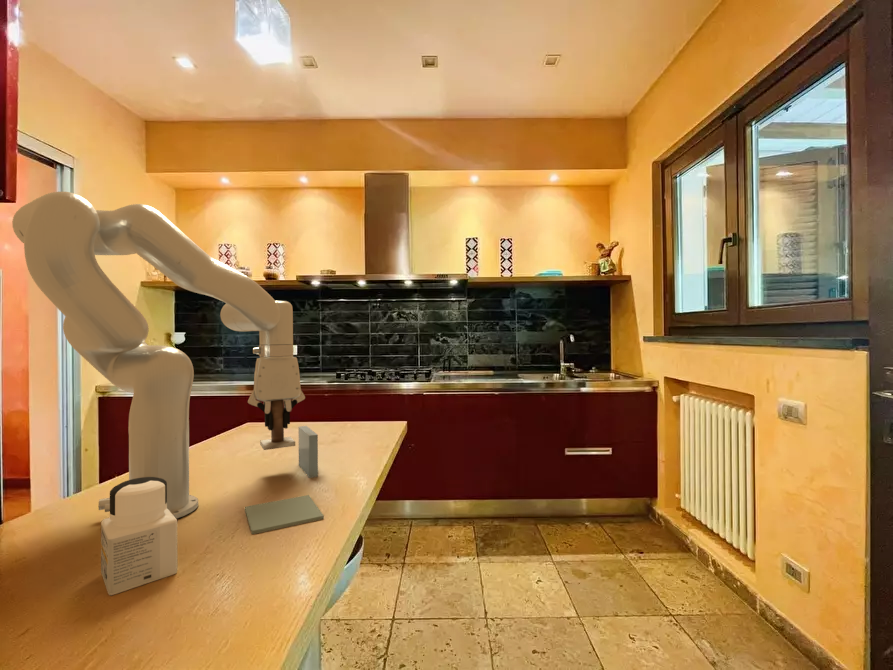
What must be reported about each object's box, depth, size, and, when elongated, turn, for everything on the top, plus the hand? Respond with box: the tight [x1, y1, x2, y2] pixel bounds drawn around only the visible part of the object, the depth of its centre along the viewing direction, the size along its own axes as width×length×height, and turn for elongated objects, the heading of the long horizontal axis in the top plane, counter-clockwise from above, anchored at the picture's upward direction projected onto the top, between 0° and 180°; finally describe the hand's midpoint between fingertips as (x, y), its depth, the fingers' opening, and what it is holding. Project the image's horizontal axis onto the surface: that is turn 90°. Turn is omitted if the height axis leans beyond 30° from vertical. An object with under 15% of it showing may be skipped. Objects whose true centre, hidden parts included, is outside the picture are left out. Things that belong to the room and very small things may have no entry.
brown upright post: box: [259, 400, 296, 451], centre depth 104 cm, size 7×6×12 cm
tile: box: [298, 425, 319, 479], centre depth 107 cm, size 2×12×10 cm, turn 30°
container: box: [100, 477, 178, 596], centre depth 60 cm, size 8×8×13 cm
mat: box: [244, 494, 325, 535], centre depth 80 cm, size 12×12×1 cm
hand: (277, 427), depth 104 cm, fingers closed on brown upright post, 2 cm apart
